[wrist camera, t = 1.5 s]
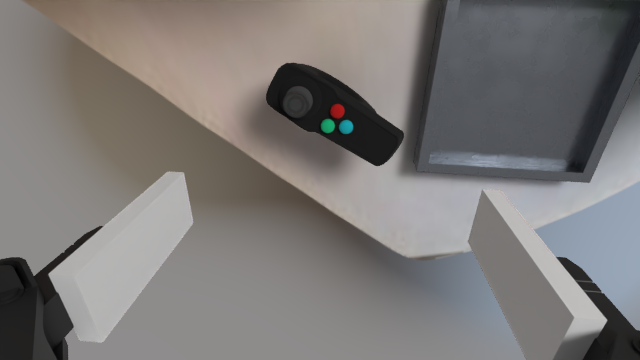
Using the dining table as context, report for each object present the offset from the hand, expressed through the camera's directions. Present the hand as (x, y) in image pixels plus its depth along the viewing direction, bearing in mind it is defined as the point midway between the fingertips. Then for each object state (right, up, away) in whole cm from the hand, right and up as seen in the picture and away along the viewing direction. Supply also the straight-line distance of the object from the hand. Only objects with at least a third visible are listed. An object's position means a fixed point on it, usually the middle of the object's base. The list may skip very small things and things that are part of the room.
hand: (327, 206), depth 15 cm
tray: (+19, +10, +17) cm, 27 cm away
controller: (+2, +10, +19) cm, 22 cm away
